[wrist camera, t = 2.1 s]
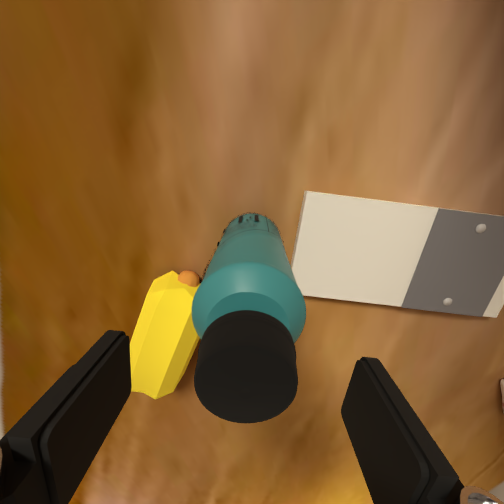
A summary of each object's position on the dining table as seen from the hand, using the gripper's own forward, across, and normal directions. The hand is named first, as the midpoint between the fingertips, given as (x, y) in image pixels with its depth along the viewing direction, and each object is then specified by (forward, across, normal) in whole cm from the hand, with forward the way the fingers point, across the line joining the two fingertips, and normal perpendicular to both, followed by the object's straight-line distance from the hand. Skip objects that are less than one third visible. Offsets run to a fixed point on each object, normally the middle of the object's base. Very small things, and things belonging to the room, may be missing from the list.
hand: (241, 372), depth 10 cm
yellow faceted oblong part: (+20, +9, +12) cm, 25 cm away
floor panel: (+19, -18, -1) cm, 26 cm away
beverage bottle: (+19, 0, -1) cm, 19 cm away
